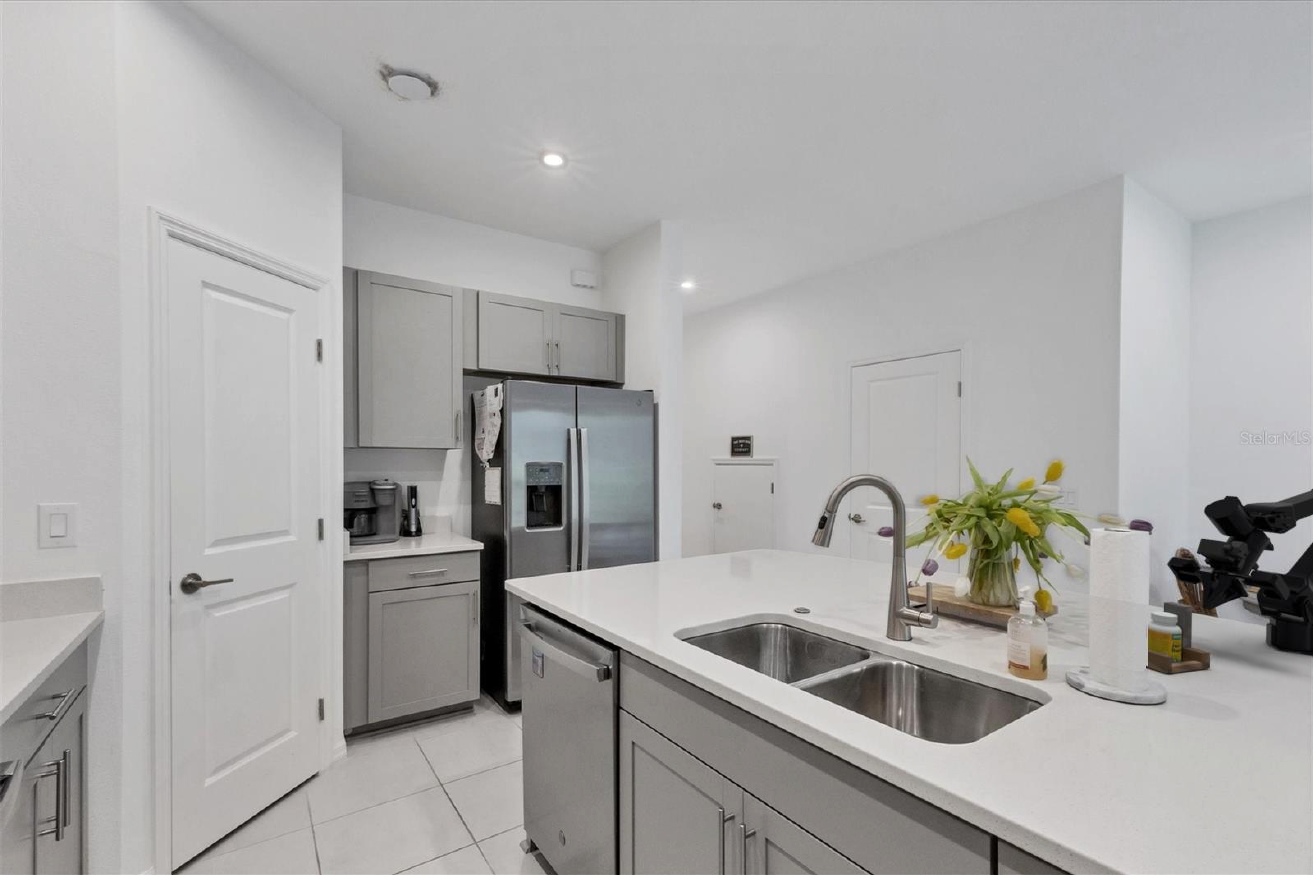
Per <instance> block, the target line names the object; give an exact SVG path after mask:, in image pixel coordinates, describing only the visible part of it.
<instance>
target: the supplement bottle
mask: <svg viewBox="0 0 1313 875" xmlns="http://www.w3.org/2000/svg"><path fill="white" fill-rule="evenodd" d="M1150 613H1151V614H1150V618H1151V620H1152V621H1149V622H1147V624H1148V650H1151V651H1154V652H1157V653H1161V654H1164V655H1167V656H1170V657H1172V663H1180V662H1181V640H1182V631H1181V629H1180V627H1178V626H1177V625H1175V624H1176V623H1177V622H1178V618H1177V615H1175V614H1171V613H1167V612H1164V611H1157V610H1154V611H1151V612H1150Z"/></svg>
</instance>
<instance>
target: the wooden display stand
mask: <svg viewBox="0 0 1313 875" xmlns="http://www.w3.org/2000/svg"><path fill="white" fill-rule="evenodd" d="M1163 612H1167V613H1171V614H1175V615H1177V618H1178V622H1177V623H1176V624H1175V625H1177V626H1178V627H1180V629H1181V631H1182V640H1181V662H1180V663H1172V657H1170V656H1167V655H1164V654H1161V653H1157V652H1154V651H1151V650H1148V667H1147V668H1148V669H1149V668H1150V669H1152V670H1156V671H1158V672H1161V673H1163V674H1174V673H1182V672H1189V671H1197V670H1204V669H1210V668H1211V651H1207V650H1204V649H1201V648H1196V647H1193V646H1192V636H1193V635H1192V633H1193V606H1192V605H1187V604H1183V603H1179V602H1174V601H1167V602H1163Z"/></svg>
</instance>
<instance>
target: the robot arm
mask: <svg viewBox="0 0 1313 875" xmlns="http://www.w3.org/2000/svg"><path fill="white" fill-rule="evenodd" d="M1203 513H1204V515H1205V516H1206V517H1207V518H1208V520H1210V522H1211V524H1212V525H1213V526H1214V527H1215V528H1216V529H1217V531H1218V532H1219V533H1220V534H1221V535H1222V536H1224V537H1225V536H1226V537H1228V539H1227V540H1226V541H1222V540H1216V539H1209V538H1200V541H1199V544H1198V547H1197V549H1196V554H1198V555H1201V556H1203V557H1204V562H1205V564H1206V565H1203V564H1201V565H1200V566H1199V565H1198V563H1197V562H1196V560H1195V559H1193V558H1186V557H1180V556H1172V557H1171V558H1170V559H1169V560H1168V561H1167V564H1166V566H1167V567H1168V568H1169V569H1170V570H1171V572H1172V574H1173V575H1174V577H1175V578H1176V580H1178V581H1180V582H1181V583H1186V584H1192V585H1197V584H1202V608H1203V609H1204V610H1206V611H1210V610H1213V609H1216V608H1218V607H1219V606H1222V605H1224V604H1227V603H1229V602H1232V601H1235V600H1238V599H1240V598H1248V597H1249V596H1250V594H1249V593H1248V592H1249V591H1250V590H1251V589H1252V588H1253V587H1254V588H1259V589H1258V591H1257V592H1256V600H1257V604H1258V608H1259V611H1260V615H1261V616H1264V617H1269V622H1267V623H1266V624H1265V625H1266V628H1265V629H1266V630H1265V643H1266V644H1267V645H1269V646H1271V647H1272V648H1274V649H1276V650H1277V651H1282V652H1288V653H1289V652H1291V653H1297V654H1304V655H1311V656H1313V541H1312V543H1310V544H1309V545H1308V547H1307V548H1306V550H1305V551H1304V552H1303V554H1302V555H1301V556H1300V557H1299V558H1298V559H1297V561H1296V562H1295V563H1294V564H1293V566H1292V567H1290V569H1289V570H1288V571H1287V572H1286V573H1284V574H1283V573H1279V572H1274V571H1273V572H1271V571H1267V570H1265V571H1264V570H1260V569H1259V568H1260V565H1259V564H1258V561H1259V560H1260V558H1261V556H1262V554H1263V553H1264V551H1270V552H1274V550H1275V547H1274V544H1273V543H1272V540H1271V538H1270V537H1269V536H1268V535H1267V534H1266V533H1270V534H1277V535H1282V534H1286V533H1288V532H1289V531H1291V530H1293V529H1294V528H1295V527H1297V522H1298V521H1299V520H1302V519H1305V518H1308V517H1311V516H1313V488H1311V489H1310V490H1309V491H1306V492H1302V493H1299V494H1297V495H1294V496H1290V497H1288V498H1287V497H1286V498H1284V499H1282V500H1279V501H1275V502H1273V501H1272V502H1271V501H1270V502H1253V503H1246V504H1245V505H1244V504H1242V501H1241V499H1240V498H1239V497H1238V496H1236V495H1235V496H1234V495H1225V497H1223V498H1222V499H1218V500H1215V501H1213V502H1211V503H1209V504H1207V505H1206V506H1205V507H1204V510H1203Z"/></svg>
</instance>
